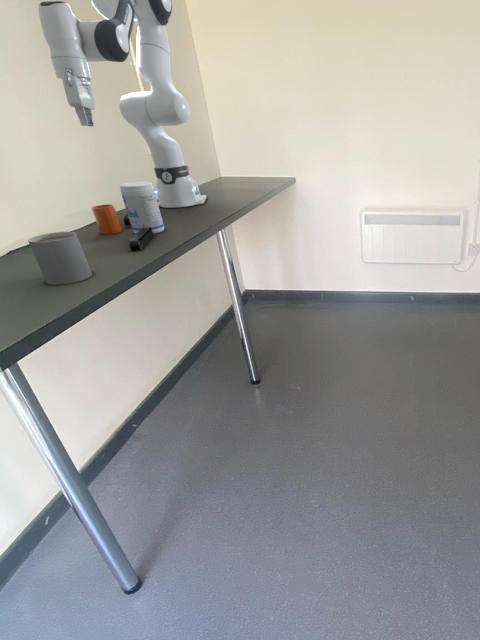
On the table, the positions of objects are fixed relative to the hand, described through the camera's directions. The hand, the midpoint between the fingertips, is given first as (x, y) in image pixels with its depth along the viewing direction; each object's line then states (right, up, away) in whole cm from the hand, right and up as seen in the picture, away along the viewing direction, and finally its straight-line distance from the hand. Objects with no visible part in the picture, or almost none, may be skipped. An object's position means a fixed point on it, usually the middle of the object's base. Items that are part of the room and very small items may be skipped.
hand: (88, 126), depth 146 cm
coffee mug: (+12, -52, -25) cm, 59 cm away
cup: (-1, -27, +14) cm, 31 cm away
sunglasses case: (+3, -20, +26) cm, 33 cm away
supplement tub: (+13, -28, +12) cm, 33 cm away
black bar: (+17, -36, 0) cm, 40 cm away
